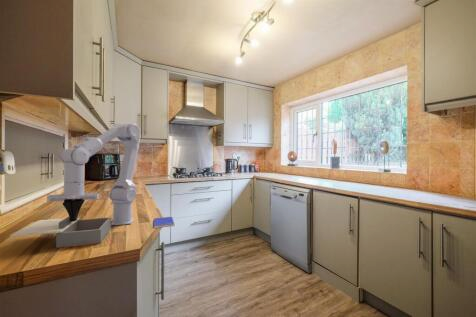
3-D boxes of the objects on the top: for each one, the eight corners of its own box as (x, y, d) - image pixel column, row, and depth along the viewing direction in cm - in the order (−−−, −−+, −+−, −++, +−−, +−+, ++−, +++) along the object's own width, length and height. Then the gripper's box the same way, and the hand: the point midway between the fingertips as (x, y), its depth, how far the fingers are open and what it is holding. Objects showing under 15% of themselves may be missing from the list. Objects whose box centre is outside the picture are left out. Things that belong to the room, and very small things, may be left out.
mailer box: (75, 231, 82) (75, 220, 82) (110, 228, 86) (111, 217, 86) (56, 248, 67) (56, 233, 67) (100, 243, 71) (100, 229, 71)
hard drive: (174, 223, 90) (172, 216, 102) (153, 225, 87) (153, 218, 99) (174, 227, 90) (172, 219, 102) (153, 229, 87) (153, 221, 99)
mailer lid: (39, 221, 78) (39, 214, 78) (79, 218, 82) (80, 212, 82) (10, 236, 63) (10, 228, 63) (61, 232, 67) (61, 224, 67)
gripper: (42, 183, 69) (42, 226, 69) (95, 182, 74) (94, 221, 74) (53, 181, 75) (52, 220, 75) (100, 180, 80) (100, 216, 80)
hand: (73, 220), depth 75 cm, fingers closed
